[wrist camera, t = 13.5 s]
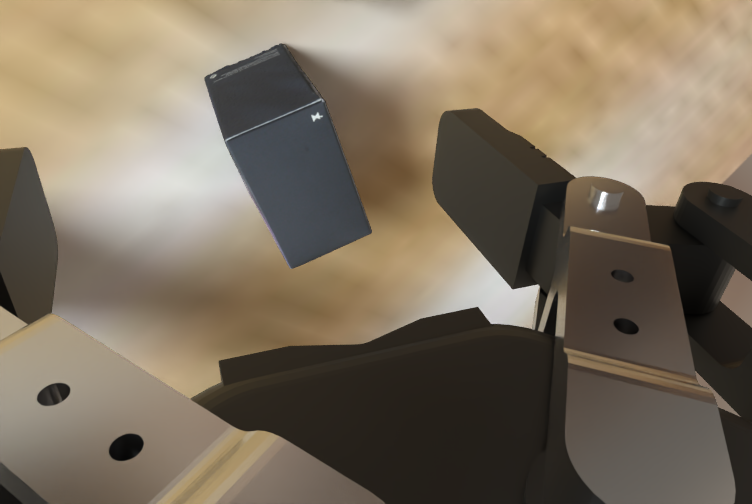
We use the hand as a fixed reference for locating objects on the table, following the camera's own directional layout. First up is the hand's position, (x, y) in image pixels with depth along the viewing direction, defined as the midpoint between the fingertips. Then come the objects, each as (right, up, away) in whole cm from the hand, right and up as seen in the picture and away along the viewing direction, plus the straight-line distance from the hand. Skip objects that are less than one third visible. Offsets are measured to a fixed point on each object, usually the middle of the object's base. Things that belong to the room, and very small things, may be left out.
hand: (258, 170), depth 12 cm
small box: (-6, +8, +32) cm, 33 cm away
